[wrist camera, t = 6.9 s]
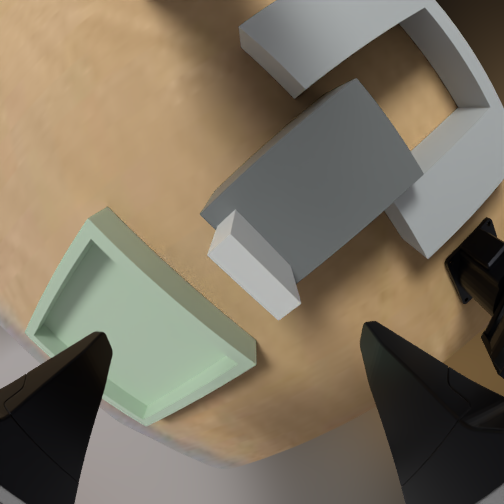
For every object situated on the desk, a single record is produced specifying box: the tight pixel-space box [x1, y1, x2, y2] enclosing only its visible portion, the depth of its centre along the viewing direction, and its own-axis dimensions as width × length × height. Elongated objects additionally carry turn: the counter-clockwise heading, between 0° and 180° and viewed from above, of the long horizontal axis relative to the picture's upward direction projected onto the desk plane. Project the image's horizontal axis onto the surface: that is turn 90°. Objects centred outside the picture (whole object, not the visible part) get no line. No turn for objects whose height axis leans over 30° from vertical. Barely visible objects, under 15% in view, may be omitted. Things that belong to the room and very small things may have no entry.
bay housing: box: [239, 0, 504, 259], centre depth 14 cm, size 18×12×4 cm
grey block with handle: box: [200, 78, 424, 320], centre depth 14 cm, size 6×10×10 cm, turn 133°
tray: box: [25, 207, 257, 426], centre depth 22 cm, size 16×16×3 cm
